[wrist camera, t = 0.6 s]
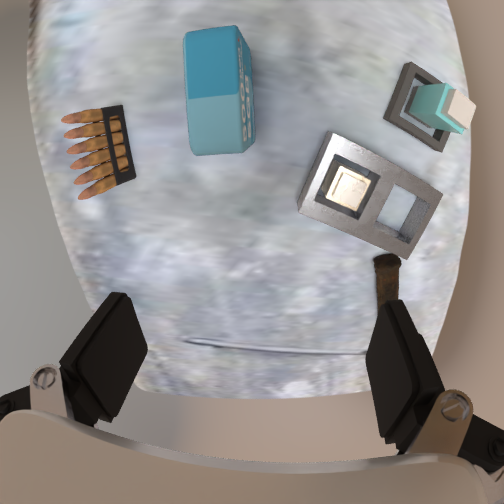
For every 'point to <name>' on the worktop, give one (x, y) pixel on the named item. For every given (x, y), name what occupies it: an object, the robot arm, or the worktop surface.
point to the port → (365, 196)
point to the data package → (218, 91)
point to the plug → (440, 107)
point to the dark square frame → (398, 101)
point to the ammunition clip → (101, 149)
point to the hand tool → (387, 277)
